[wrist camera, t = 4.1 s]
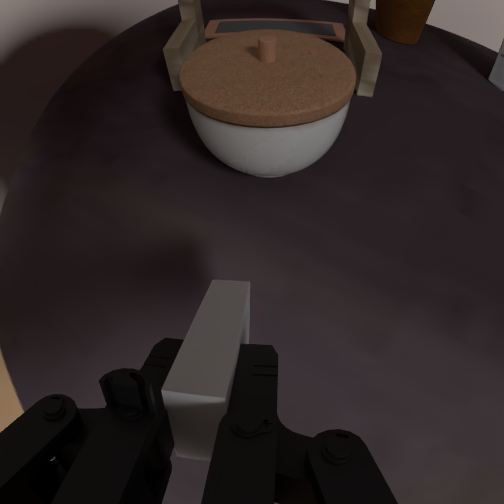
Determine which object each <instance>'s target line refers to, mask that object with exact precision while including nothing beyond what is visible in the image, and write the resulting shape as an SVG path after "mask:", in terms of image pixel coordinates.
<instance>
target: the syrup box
mask: <svg viewBox="0 0 504 504" xmlns="http://www.w3.org/2000/svg"><path fill="white" fill-rule="evenodd" d="M488 80H489V81H490V82H491V83H493V84H494V85H495V86H496V87H498V88H499V89H501V90H502V91H503V92H504V39H503V42H502V45H501V48H500V50H499V53H498V55H497V58H496V61H495V63H494V65H493V68H492V70H491V73H490V75H489V78H488Z"/></svg>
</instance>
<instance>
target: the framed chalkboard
mask: <svg viewBox="0 0 504 504" xmlns="http://www.w3.org/2000/svg"><path fill="white" fill-rule="evenodd" d="M260 29H275V30H287V31H293V32H299V33H303V34H307V35H310V36H314V37H316V38H319V39H322V40H329V41H338V42H344V39H345V29H344V27H343V24H342V23H334V22H324V21H312V20H298V19H269V18H251V19H222V20H210V21H209V23H208V25H207V27H206V29H205V37H206V39H210V38H219V37H222V36H225V35H228V34H232V33H236V32H242V31H249V30H260Z"/></svg>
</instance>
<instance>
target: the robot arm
mask: <svg viewBox="0 0 504 504" xmlns="http://www.w3.org/2000/svg"><path fill="white" fill-rule="evenodd" d="M249 315H250V281H230V280H212V282H211V284H210V286H209V288H208V290H207V293H206V295H205V297H204V299H203V301H202V303H201V305H200V307H199V309H198V312H197V314H196V316H195V318H194V320H193V322H192V324H191V326H190V329H189V331H188V333H187V335H186V337H185V339H184V340H181V339H172V338H164V339H163V340H161V341H160V342H159V343H157V344H156V345H154V347H153V349H152V350H151V352H150V354H149V357H147V359H146V361H145V362H144V365H143V366H142V368H141V369H140V371H139V370H135V369H127V368H122V369H117V370H113V371H111V372H109V373H107V374H105V375H104V376H103V377H102V378H101V379H100V380H99V383H100V386H101V389H102V392H103V395H104V398H105V401H106V403H107V405H106V407H105V408H98V409H78V408H77V406H76V404H75V401H73V400H72V399H71V398H70V397H68V396H65V395H62V394H53V395H49V396H46V397H44V398H42V399H41V400H39V401H38V402H37V403H35V404H34V405H33V406H32V407H31V408H29V409H28V410H27V411H26V412H25V413H23V414H22V415H21V416H20V417H18V418H17V419H16V420H15V421H14V422H13V423H11V424H10V425H9V426H8V427H7V428H5V429H4V430H3V431H2V432H1V433H0V504H162V501H163V497H164V494H165V491H166V488H167V484H168V481H169V478H170V475H171V471H172V464H171V461H170V456H171V453H172V450H173V447H174V449H175V453H176V456H179V457H185V458H191V459H198V460H205V461H211V462H210V466H209V471H208V475H207V480H206V484H205V489H204V493H203V498H202V502H201V504H274V502H276V503H279V504H398V503H397V501H396V499H395V497H394V495H393V494H392V492H391V490H390V488H389V486H388V485H387V483H386V481H385V479H384V477H383V475H382V474H381V472H380V470H379V468H378V466H377V464H376V463H375V461H374V459H373V457H372V455H371V453H370V452H369V450H368V448H367V446H366V444H365V443H364V442H363V441H362V440H361V438H360V437H359V436H357V435H355V434H353V433H352V432H349V431H345V430H340V429H336V430H327V431H324V432H321V433H319V434H317V435H316V436H315V437H314V438H312V437H308V436H304V435H301V434H298V433H295V432H292V431H291V430H289V429H288V428H286V427H285V426H284V425H283V424H282V423H281V422H280V420H279V418H278V415H277V386H278V354H277V352H276V351H275V349H274V348H273V346H272V345H257V344H248V343H249ZM54 456H55V457H56V459H54V460H52V461H50V460H51V459H52V458H53V457H54Z"/></svg>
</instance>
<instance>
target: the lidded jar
mask: <svg viewBox="0 0 504 504" xmlns="http://www.w3.org/2000/svg"><path fill="white" fill-rule="evenodd" d="M179 83H180V87H181V91H182V93H183V96H184V98H185V100H186V104H187V107H188V111H189V114H190V117H191V120H192V122H193V124H194V127H195V129H196V131H197V133H198V135H199V137H200V138H201V140H202V141H203V143H204V144H205V146H206V147H207V148H208V149H209V150H210V151H211V153H212V154H213V155H215V156H216V157H217V158H218V159H219V160H220V161H222V162H223V163H225V164H227V165H228V166H230V167H232V168H234V169H236V170H238V171H241V172H244V173H247V174H250V175H253V176H258V177H266V178H272V177H280V176H284V175H288V174H290V173H294V172H297V171H299V170H302V169H304V168H306V167H308V166H309V165H311V164H312V163H314V162H316V161H317V160H318V159H320V158H321V157H322V156H323V155H324V154H325V153H326V152H327V151H328V150H329V148H330V147H331V146H332V144H333V143H334V142H335V140H336V138H337V136H338V135H339V133H340V130H341V128H342V126H343V123H344V121H345V118H346V115H347V112H348V108H349V103H350V99H351V97H352V95H353V92H354V89H355V84H356V72H355V68H354V66H353V64H352V63H351V61H350V59H349V58H348V57H347V56H346V55H345V54H344V53H343V52H342V51H341V50H339V49H338V48H336V47H335V46H333V45H332V44H330V43H328V42H326V41H324V40H322V39H319V38H316V37H314V36H310V35H307V34H303V33H299V32H293V31H287V30H275V29H260V30H249V31H242V32H236V33H232V34H228V35H225V36H222V37H219V38H216V39H213V40H211V41H209V42H207V43H205V44H204V45H202V46H200V47H199V48H197V49H196V50H195V51H193V52H192V53H191V54H190V55H189V56H188V57H187V58H186V59H185V61H184V63H183V64H182V66H181V68H180V72H179Z"/></svg>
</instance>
